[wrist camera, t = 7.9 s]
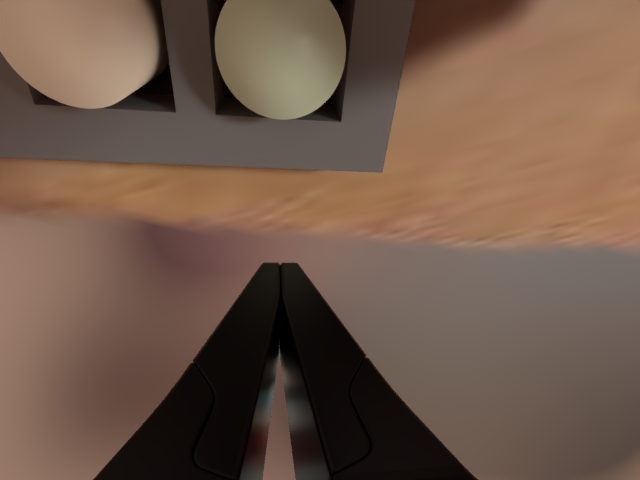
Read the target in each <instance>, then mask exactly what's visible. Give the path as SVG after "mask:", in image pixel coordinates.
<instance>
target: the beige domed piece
mask: <svg viewBox="0 0 640 480" xmlns="http://www.w3.org/2000/svg"><path fill="white" fill-rule="evenodd" d="M0 52H1V53H2V55H3V56H4V58H5V59H6V60H7V62H8V63H9V64H10V65H11V67H12V68H13V69H14V70H15V71H16V72H17V73H18V74H19V75H20V76H21V77H22V78H23V79H24V80H25V81H26V82H27V83H29V84H30V85H31V86H32V87H34V88H35V89H37V90H38V91H39V92H41V93H43V94H44V95H46V96H48V97H49V98H52V99H54V100H56V101H58V102H60V103H63V104H66V105H69V106H73V107H78V108H86V109H97V108H104V107H107V106H111V105H113V104H115V103H117V102H119V101H121V100H122V99H124V98H125V97H127V96H128V95H130V94H131V93H133V92H134V91H136V90H137V89H139V88H140V87H142V86H143V85H145V84H146V83H148V82H149V81H151V80H152V79H154V78H155V77H157V76H158V75H159V74H160V73H161V72H162V71H163V70H164V69H165V67H166V66H167V64H168V62H169V57H168V49H167V42H166V35H165V28H164V20H163V13H162V6H161V0H0Z"/></svg>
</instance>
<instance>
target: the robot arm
mask: <svg viewBox="0 0 640 480" xmlns="http://www.w3.org/2000/svg"><path fill="white" fill-rule="evenodd" d="M279 348H280V361H281V369H282V377H283V385H284V392H285V401H286V408H287V416H288V424H289V432H290V439H291V447H292V455H293V463H294V470H295V478H296V480H478V479H477V478H476V477H474V476H473V475H472V474H471V473H470V472H469V471H468V470H467V469H466V468H465V467H464V466H463V465H462V464H461V463H460V461H458V459H457V458H456V457H455V456H454V455H453V454H452V453H451V452H450V451H449V450H448V449H447V448H446V447H445V445H444V444H443V443H442V442H441V441H440V440H439V439H438V438H437V437H436V436H435V435H434V434H433V433H432V432H431V431H430V429H429V428H428V427H427V426H426V425H425V424H424V423H423V422H422V421H421V420H420V419H419V418H418V417H417V416H416V415H415V413H414V412H413V411H412V410H411V409H410V408H409V407H408V406H407V405H406V404H405V402H404V401H403V400H402V399H401V398H400V397H399V396H398V395H397V394H396V392H395V391H394V390H393V389H392V388H391V386H390V385H389V384H388V383H387V381H386V380H385V379H384V378H383V377H382V375H381V374H380V373H379V371H378V370H377V369H376V367H375V366H374V365H373V363H372V362H371V361H370V359H369V358H366V354H365V353H364V351H363V350H362V349H361V347H360V346H359V345H358V343H357V342H356V341H355V339H354V338H353V337H352V335H351V334H350V333H349V331H348V330H347V329H346V328H345V326H344V325H343V324H342V322H341V321H340V319H339V318H338V317H337V315H336V314H335V313H334V312H333V310H332V309H331V307H330V306H329V305H328V303H327V302H326V301H325V299H324V298H323V297H322V295H321V294H320V293H319V291H318V290H317V289H316V287H315V286H314V285H313V283H312V282H311V281H310V279H309V278H308V277H307V275H306V274H305V273H304V271H303V270H302V269H301V267H300V266H299V265H298V264H297V263H282V264H281V265H280V264H279V263H263V264H262V265H261V266H260V267H259V269H258V270H257V271H256V273H255V274H254V276H253V277H252V278H251V280H250V281H249V283H248V284H247V285H246V287H245V288H244V290H243V291H242V293H241V294H240V295H239V297H238V298H237V299H236V301H235V302H234V304H233V305H232V307H231V308H230V309H229V311H228V312H227V314H226V315H225V316H224V318H223V319H222V320H221V322H220V323H219V325H218V326H217V327H216V329H215V330H214V332H213V333H212V334H211V336H210V337H209V339H208V340H207V342H206V343H205V344H204V346H203V347H202V349H201V350H200V351H199V353H198V354H197V356H196V357H195V358H194V359H193V363H191V364H190V365H189V366H188V368H187V369H186V370H185V372H184V373H183V375H182V376H181V377H180V379H179V380H178V381H177V383H176V384H175V385H174V387H173V388H172V389H171V391H170V392H169V393H168V395H167V396H166V397H165V398H164V400H163V401H162V402H161V403H160V405H159V406H158V407H157V408H156V409H155V410H154V412H153V413H152V414H151V415H150V416H149V417H148V418H147V420H146V421H145V422H144V423H143V424H142V426H141V427H140V428H139V429H138V430H137V431H136V432H135V433H134V435H133V436H132V437H131V438H130V439H129V440H128V441H127V442H126V443H125V445H124V446H123V447H122V448H121V449H120V450H119V451H118V452H117V454H116V455H115V456H114V457H113V458H112V459H111V460H110V461H109V462H108V464H107V465H106V466H105V467H104V468H103V469H102V470H101V471H100V472H99V474H98V475H97V476H96V477H95V478H94V479H93V480H262V479H263V471H264V464H265V455H266V448H267V441H268V433H269V426H270V418H271V410H272V403H273V395H274V387H275V380H276V372H277V365H278V356H279Z"/></svg>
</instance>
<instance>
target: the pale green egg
mask: <svg viewBox="0 0 640 480" xmlns="http://www.w3.org/2000/svg"><path fill="white" fill-rule="evenodd" d="M215 53H216V59H217V63H218V67H219V70H220V73H221V75H222V77H223V79H224V81H225V83H226V85H227V87H228V88H229V90H230V91H231V92H232V94H233V95H234V96H235V97H236V98H237V99H238V100H239V101H240V102H241V103H242V104H243V105H244V106H246V107H247V108H249V109H250V110H252V111H253V112H255V113H257V114H259V115H262V116H264V117H268V118H272V119H279V120H288V119H295V118H299V117H303V116H305V115H307V114H310V113H312V112H313V111H315V110H317V109H318V108H319V107H320V106H322V105H323V104H324V103H325V102H326V101H327V100H328V99H329V98H330V96H331V95H332V94H333V92H334V91H335V89H336V87H337V86H338V84H339V81H340V79H341V77H342V73H343V70H344V65H345V59H346V40H345V34H344V29H343V26H342V23H341V20H340V18H339V15H338V13H337V11H336V9H335V8H334V6H333V4H332V3H331V1H330V0H227V1H226V3H225V4H224V6H223V8H222V10H221V13H220V15H219V18H218V21H217V26H216V31H215Z"/></svg>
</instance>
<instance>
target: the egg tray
mask: <svg viewBox="0 0 640 480" xmlns="http://www.w3.org/2000/svg"><path fill="white" fill-rule="evenodd" d="M415 1H416V0H343V6H342V16H341V23H342V26H343V29H344V34H345V40H346V59H345V65H344V70H343V73H342V77H341V79H340V81H339V84H338V86H337V87H336V89H335V91H334V96H333V105H324V104H323V105H322V106H320V107H319V108H318V109H317V110H315V111H313V112H312V113H310V114H307V115H305V116H303V117H299V118H295V119H288V120H279V119H272V118H268V117H264V116H262V115H259V114H257V113H255V112H253V111H252V110H250V109H249V108H247V107H246V106H244V105H243V104H242V103H241V102H240V101H239V100H238V99H229V98H224V84H223V77H222V75H221V73H220V70H219V67H218V63H217V59H216V53H215V31H216V26H217V21H218V18H219V5H218V0H161V6H162V13H163V20H164V28H165V35H166V42H167V49H168V57H169V64H170V71H171V78H172V85H173V93H174V95H166V94H150V93H134V92H133V93H131V94H130V95H128V96H127V97H125V98H124V99H122V100H121V101H119V102H117V103H115V104H113V105H111V106H107V107H104V108H97V109H86V108H78V107H73V106H69V105H66V104H63V103H60V102H58V101H56V100H54V99H52V98H49V97H48V96H46V95H44V94H43V93H41V92H39V91H38V90H37V89H35V88H34V87H32V86H31V85H30V84H29V83H27V82H26V81H25V80H24V79H23V78H22V77H21V76H20V75H19V74H18V73H17V72H16V71H15V70H14V69H13V68H12V67H11V65H10V64H9V63H8V62H7V60H6V59H5V58H4V56H3V55H2V53H1V52H0V157H1V158H27V159H52V160H77V161H103V162H128V163H154V164H179V165H204V166H230V167H255V168H280V169H306V170H331V171H357V172H382V171H383V166H384V161H385V156H386V150H387V145H388V140H389V135H390V130H391V125H392V120H393V114H394V109H395V104H396V99H397V94H398V89H399V84H400V78H401V73H402V68H403V63H404V58H405V53H406V48H407V42H408V37H409V32H410V27H411V22H412V17H413V12H414V6H415Z"/></svg>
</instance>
